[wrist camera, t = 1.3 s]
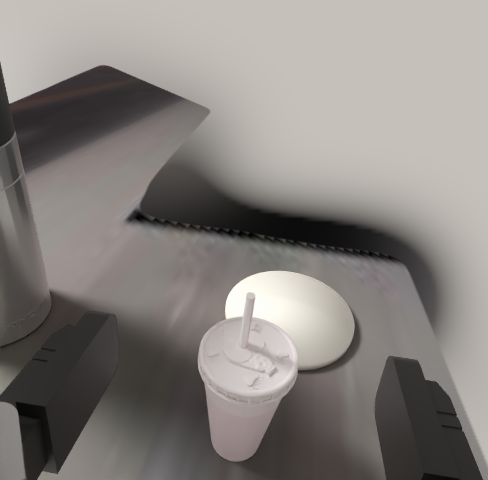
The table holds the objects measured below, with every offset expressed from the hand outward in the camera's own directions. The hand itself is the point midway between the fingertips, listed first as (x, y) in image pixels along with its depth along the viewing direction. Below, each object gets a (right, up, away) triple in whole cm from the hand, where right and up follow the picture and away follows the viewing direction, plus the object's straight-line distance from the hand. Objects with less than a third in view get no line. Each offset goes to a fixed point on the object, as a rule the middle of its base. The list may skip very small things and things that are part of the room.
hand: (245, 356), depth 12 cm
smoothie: (-1, -12, +19) cm, 23 cm away
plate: (+5, -4, +30) cm, 31 cm away
